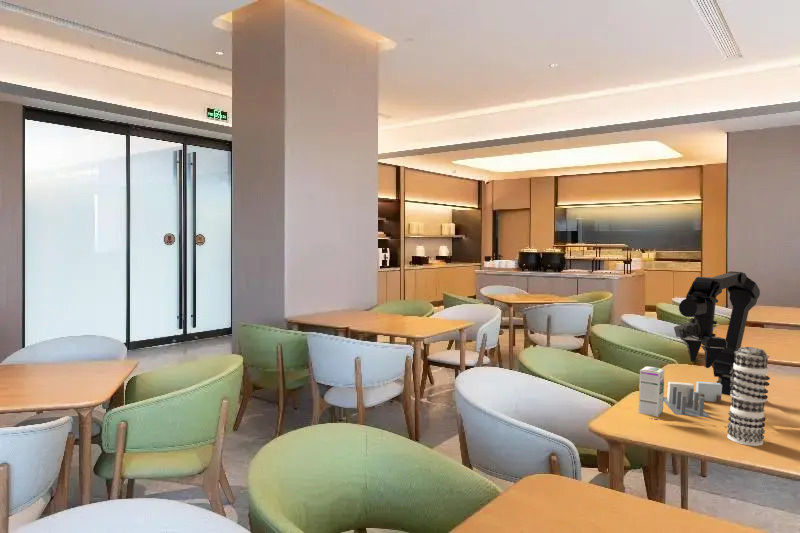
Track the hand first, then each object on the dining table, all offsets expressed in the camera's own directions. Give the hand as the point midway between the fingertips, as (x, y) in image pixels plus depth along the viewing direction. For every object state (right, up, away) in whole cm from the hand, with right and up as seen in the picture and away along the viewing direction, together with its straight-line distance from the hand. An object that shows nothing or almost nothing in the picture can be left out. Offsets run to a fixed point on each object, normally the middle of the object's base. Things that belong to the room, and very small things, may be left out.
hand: (699, 364), depth 183 cm
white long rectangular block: (+5, -13, +3) cm, 14 cm away
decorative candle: (-3, -16, -29) cm, 33 cm away
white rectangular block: (-6, -12, 0) cm, 14 cm away
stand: (+5, -13, +4) cm, 14 cm away
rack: (-7, -14, -4) cm, 16 cm away
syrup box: (-21, -14, -11) cm, 27 cm away
